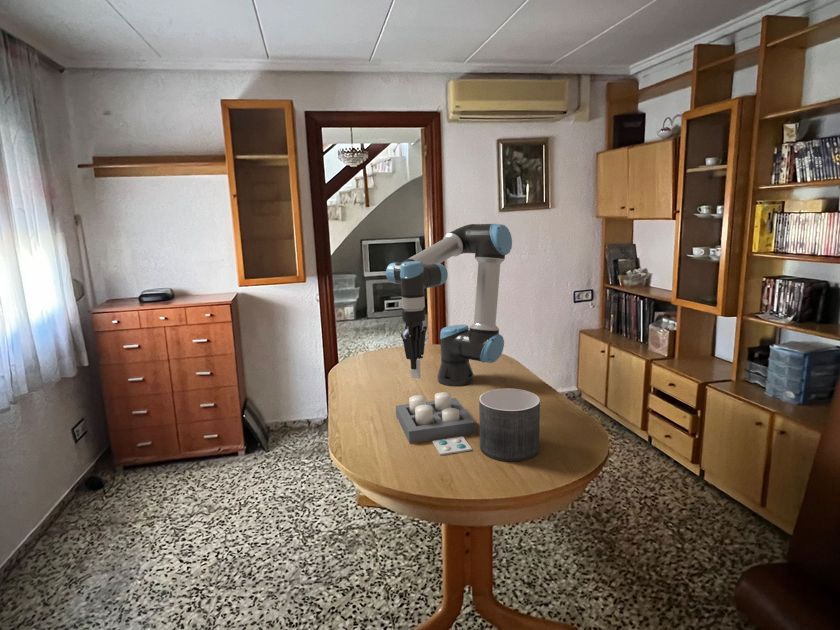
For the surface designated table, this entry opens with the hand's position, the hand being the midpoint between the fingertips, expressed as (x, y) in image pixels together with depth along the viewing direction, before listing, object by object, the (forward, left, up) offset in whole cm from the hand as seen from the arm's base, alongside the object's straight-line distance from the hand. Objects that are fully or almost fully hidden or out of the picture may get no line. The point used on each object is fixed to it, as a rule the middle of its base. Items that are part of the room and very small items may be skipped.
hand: (416, 377), depth 175 cm
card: (-6, +21, -16) cm, 27 cm away
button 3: (-9, 0, -13) cm, 16 cm away
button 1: (0, 0, -13) cm, 13 cm away
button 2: (0, +9, -13) cm, 16 cm away
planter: (-22, +28, -16) cm, 39 cm away
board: (-5, +4, -16) cm, 17 cm away
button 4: (-9, +9, -15) cm, 20 cm away
